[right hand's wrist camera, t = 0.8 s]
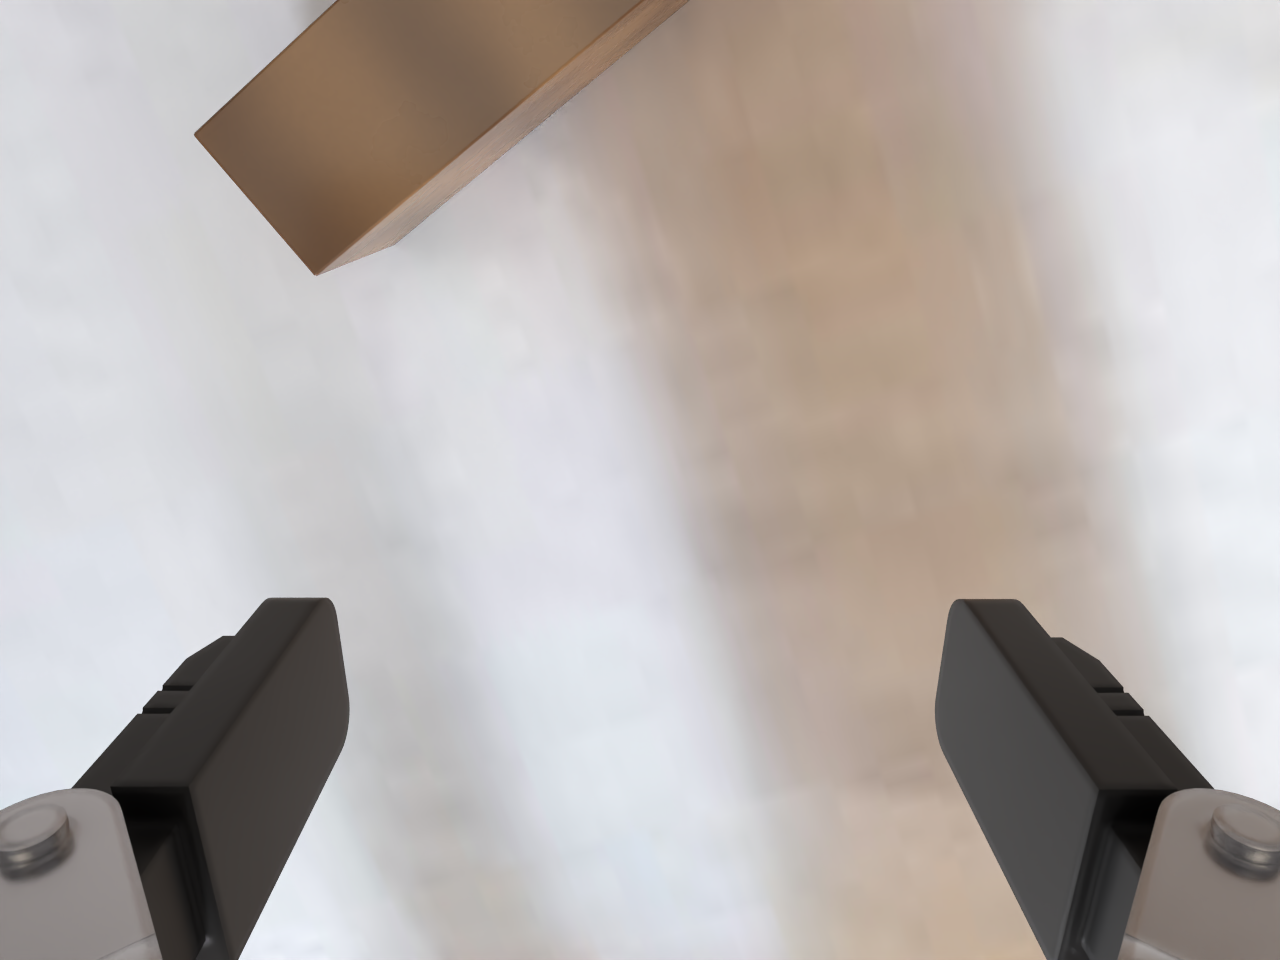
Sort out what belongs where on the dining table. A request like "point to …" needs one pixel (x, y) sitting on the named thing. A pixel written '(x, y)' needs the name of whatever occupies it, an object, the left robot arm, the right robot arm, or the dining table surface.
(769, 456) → the dining table surface
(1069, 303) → the dining table surface
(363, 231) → the beam
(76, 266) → the dining table surface
